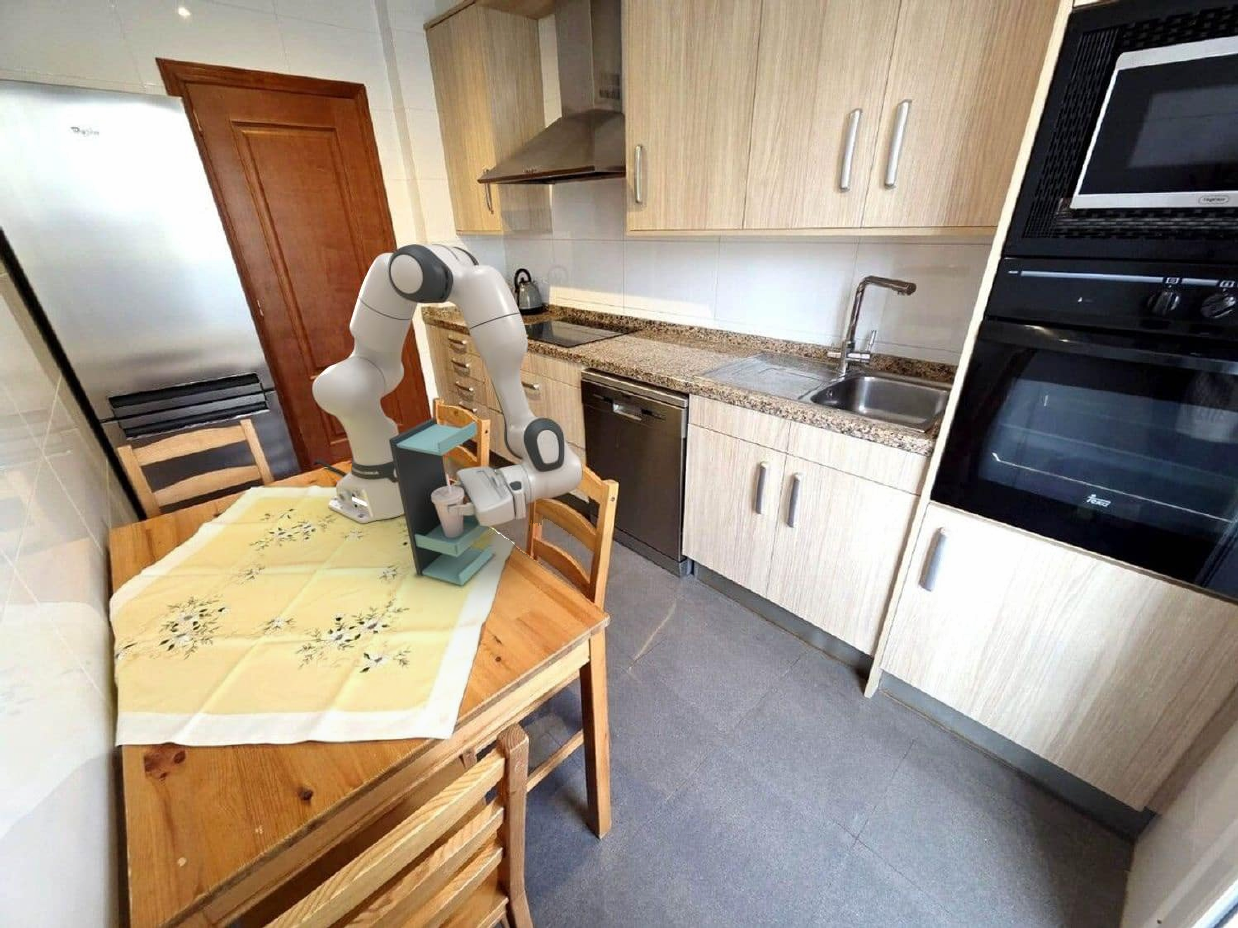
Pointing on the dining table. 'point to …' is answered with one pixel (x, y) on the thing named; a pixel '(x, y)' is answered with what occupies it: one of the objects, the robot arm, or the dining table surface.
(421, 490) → the rack
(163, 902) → the dining table surface
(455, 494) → the smoothie
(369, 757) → the dining table surface
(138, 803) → the dining table surface
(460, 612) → the dining table surface
